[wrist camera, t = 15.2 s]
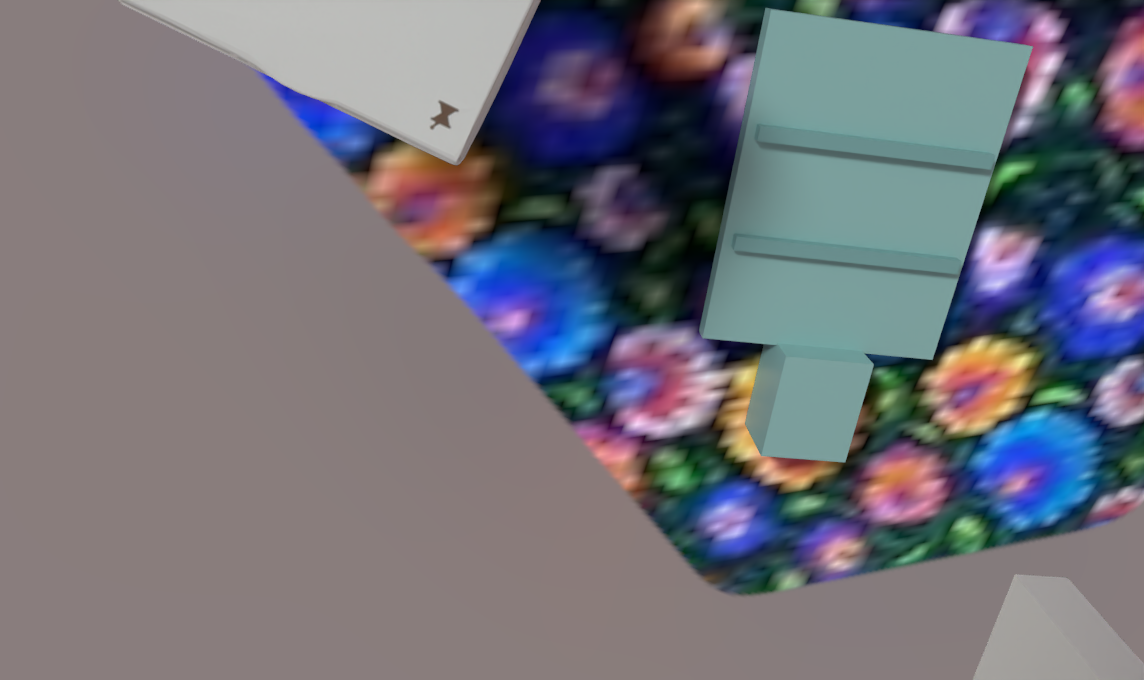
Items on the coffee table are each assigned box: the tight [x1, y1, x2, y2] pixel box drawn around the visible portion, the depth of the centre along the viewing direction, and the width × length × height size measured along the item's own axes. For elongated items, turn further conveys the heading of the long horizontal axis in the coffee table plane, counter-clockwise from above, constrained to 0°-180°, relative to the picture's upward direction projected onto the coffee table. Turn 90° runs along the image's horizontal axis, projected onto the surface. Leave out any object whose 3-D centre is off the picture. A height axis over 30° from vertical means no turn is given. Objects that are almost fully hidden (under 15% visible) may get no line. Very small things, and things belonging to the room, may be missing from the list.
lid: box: [699, 8, 1033, 462], centre depth 40 cm, size 19×11×3 cm, turn 172°
